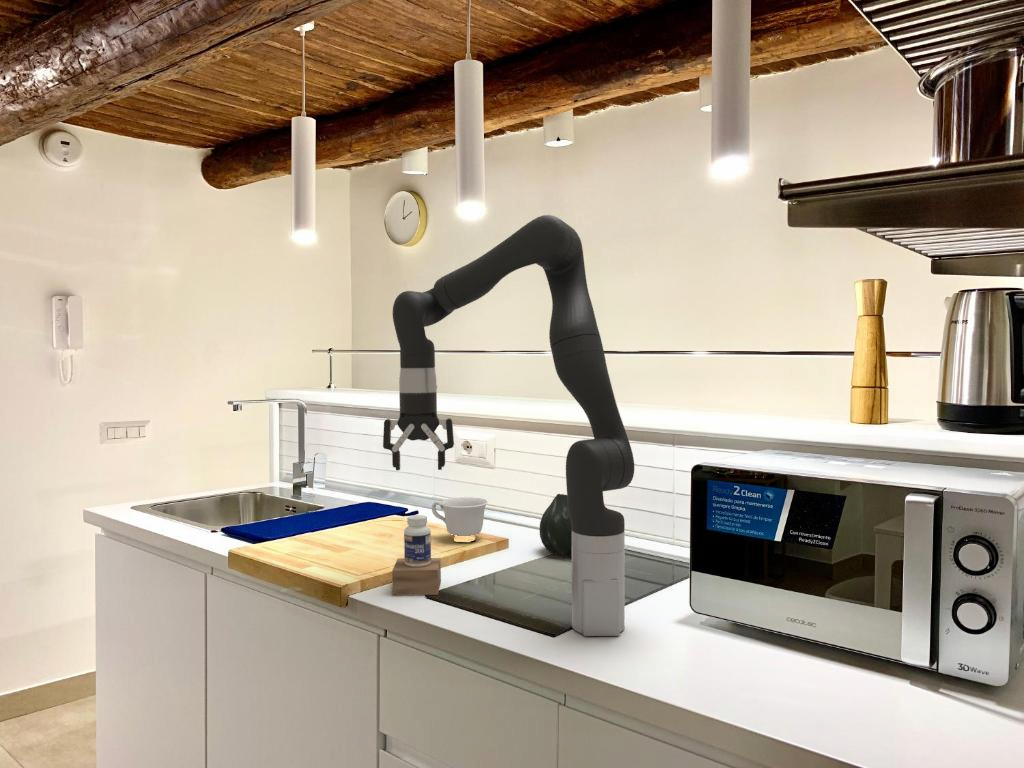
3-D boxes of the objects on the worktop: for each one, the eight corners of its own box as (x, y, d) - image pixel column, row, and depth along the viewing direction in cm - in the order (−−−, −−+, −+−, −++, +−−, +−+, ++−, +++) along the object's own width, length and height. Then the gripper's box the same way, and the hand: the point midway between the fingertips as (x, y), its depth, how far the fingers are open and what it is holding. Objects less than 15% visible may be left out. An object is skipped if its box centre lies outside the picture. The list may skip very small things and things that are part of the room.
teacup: (441, 532, 209) (441, 495, 208) (494, 536, 204) (494, 498, 204) (422, 543, 197) (422, 504, 197) (478, 548, 193) (478, 507, 192)
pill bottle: (400, 566, 159) (399, 519, 158) (410, 559, 164) (409, 513, 163) (425, 568, 157) (424, 520, 157) (434, 561, 163) (434, 514, 162)
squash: (622, 530, 187) (586, 479, 192) (587, 545, 175) (549, 491, 181) (586, 561, 194) (552, 512, 200) (550, 578, 183) (515, 524, 188)
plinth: (437, 594, 156) (437, 570, 156) (392, 595, 156) (392, 570, 156) (440, 581, 165) (440, 557, 165) (398, 581, 165) (397, 558, 165)
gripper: (380, 391, 155) (381, 473, 156) (452, 390, 156) (453, 472, 156) (385, 389, 163) (386, 467, 163) (453, 389, 163) (454, 466, 164)
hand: (419, 469), depth 160 cm, fingers open, 8 cm apart
